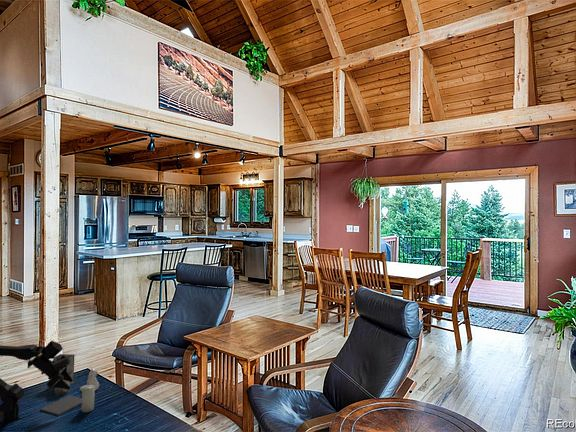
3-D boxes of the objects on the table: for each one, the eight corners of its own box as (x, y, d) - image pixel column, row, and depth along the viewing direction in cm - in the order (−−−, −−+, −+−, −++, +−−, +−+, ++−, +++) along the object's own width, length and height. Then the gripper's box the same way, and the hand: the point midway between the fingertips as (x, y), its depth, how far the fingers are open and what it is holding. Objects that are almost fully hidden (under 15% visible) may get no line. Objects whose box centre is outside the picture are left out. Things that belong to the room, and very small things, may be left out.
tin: (60, 396, 197) (61, 381, 197) (51, 394, 200) (52, 379, 200) (72, 391, 204) (73, 376, 204) (63, 388, 206) (64, 374, 206)
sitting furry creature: (78, 390, 204) (79, 369, 204) (94, 385, 211) (95, 364, 211) (86, 395, 198) (87, 373, 199) (102, 390, 205) (103, 368, 206)
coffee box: (74, 381, 216) (75, 354, 216) (66, 386, 209) (67, 358, 210) (59, 381, 216) (60, 353, 217) (51, 385, 210) (52, 357, 211)
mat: (58, 415, 177) (58, 414, 177) (40, 410, 182) (40, 408, 182) (87, 401, 192) (87, 399, 192) (69, 396, 197) (69, 395, 197)
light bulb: (86, 413, 180) (87, 390, 180) (78, 410, 182) (79, 388, 182) (96, 408, 185) (97, 386, 186) (88, 405, 187) (89, 384, 188)
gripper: (55, 358, 171) (82, 378, 175) (62, 346, 188) (86, 365, 192) (35, 378, 167) (62, 398, 171) (44, 363, 184) (68, 382, 189)
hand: (70, 384), depth 181 cm, fingers open, 9 cm apart
